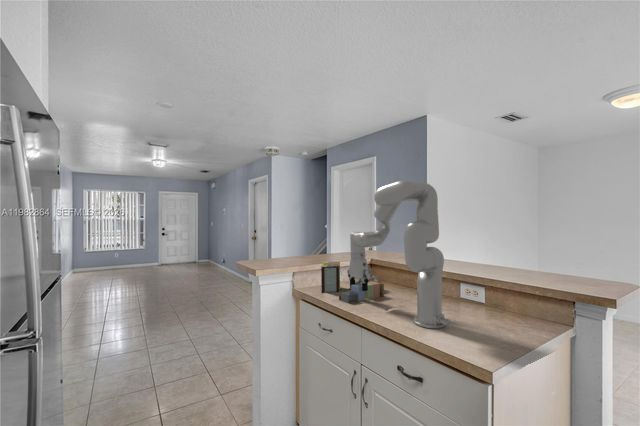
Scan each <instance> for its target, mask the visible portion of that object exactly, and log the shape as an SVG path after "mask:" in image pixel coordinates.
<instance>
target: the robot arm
mask: <svg viewBox="0 0 640 426" xmlns="http://www.w3.org/2000/svg"><path fill="white" fill-rule="evenodd" d="M373 198H374V201H375V204H376V205H377V206H376V209H375V210H374V212H373V216H374V218H375V219H376V220H377V221H379V224H378V226H377V227H376V229H375V230H373V231H365V232H363V231H352V232H351V233H350V234H349V235H350V236H349V239H350V240H349V241H350V242H349V243H350V244H349V245H350V246H349V247H350V259H349V269H348V270H346V273H347V277H348V280H349V288H350V289H351V285H354V284H355V279H354V278H359V279H361V280H362V282H363V283H362V291H367V290H368V282H369V280H370V277H371V275H370V274H369V273H368V265H369V264H368V261H367V258H366V248H371V247H379V246H380V245H382V244H383V243H384V242H385V241H386V239H387V237H388V236H389V233H390V230H391V223H390V222H391V220H392V219H393V217H394V215H395V213H396V212H397V210H398V208H399V207H400V205H401V204H402V202H405V201H406V202H407V201H408V202H409V201H410V202H411V201H412V202H414V201H415V202H418V203H417V207H416V209H415V211H416V220H415V221H414V220H413V221H411V222H409V223H408V224H407V225H406V226H405V228H404V232H403V245H404V250H403V251H404V261H405V265H406V267H407V268H408V270H409V271H411V272H412V273H417V274H418V275H417V278H416V279H417V281H416V284H417V286H416V289H417V290H416V292H417V293H416V296H417V297H416V300H417V301H416V302H417V303H416V304H417V305H416V306H417V311H416V312H417V314H416V315H417V316H416V315H415V317H414V318H413V323H414V324H415V325H417V326H419V327H422V328H426V329H442V328H445V327H449V326H450V323H451V319H449V318H446V317H445V313H443V309H442V308H443V303H442V302H443V299H442V297H443V295H442V294H443V293H442V292H443V291H442V289H443V285H442V284H443V282H442V281H443V269H444V265H445V257H444V254H443V252H442V251H441V250H440V249H439V248H437V247H435V246H427V244H432V243H436V242H437V241H438V240H439V236H440V228H439V227H440V225H439V224H440V223H439V210H438V208H439V207H438V203H439V202H438V193H437V191H436V188H435V187H433V185H431V184H429V183H426V182H423V181H420V180H419V181H418V180H408V179H407V180H405V179H404V180H397V181H395V182H392V183H389V184H386V185H383V186H380V187H378V189H377V190H376V191H375V193H374V196H373ZM364 279H365V280H364Z"/></svg>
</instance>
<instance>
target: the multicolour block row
mask: <svg viewBox="0 0 640 426" xmlns="http://www.w3.org/2000/svg"><path fill="white" fill-rule="evenodd" d="M373 282H376V281H373ZM380 282H381V281H380ZM380 282H376V283H380ZM384 297H385V283H383V282H381V283H380V297H376V298H371V299H367V298H365V300H362V301H357V302H352V303H346V302H344V301H341V295H339V296H338V301H341V302H343V303H345V304H348V305H353V304H357V303H362V302H366V301H367V302H368V301H370V300H371V301H372V300H374V299H375V300H376V299H381V298H384Z"/></svg>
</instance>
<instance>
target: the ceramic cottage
mask: <svg viewBox="0 0 640 426" xmlns="http://www.w3.org/2000/svg"><path fill="white" fill-rule="evenodd" d="M367 265H368V273H369V274H370V275H371V277H370V280H369V282H371V281H376V282H380V283H382V282H381V279H380V277H379V276H378V275H374V271H373V269H372V268H370V265H369V264H367ZM354 279H355V284H359V285H361V283H363V282H362V280H361V279H359V278H354ZM364 280H365V279H364Z"/></svg>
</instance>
